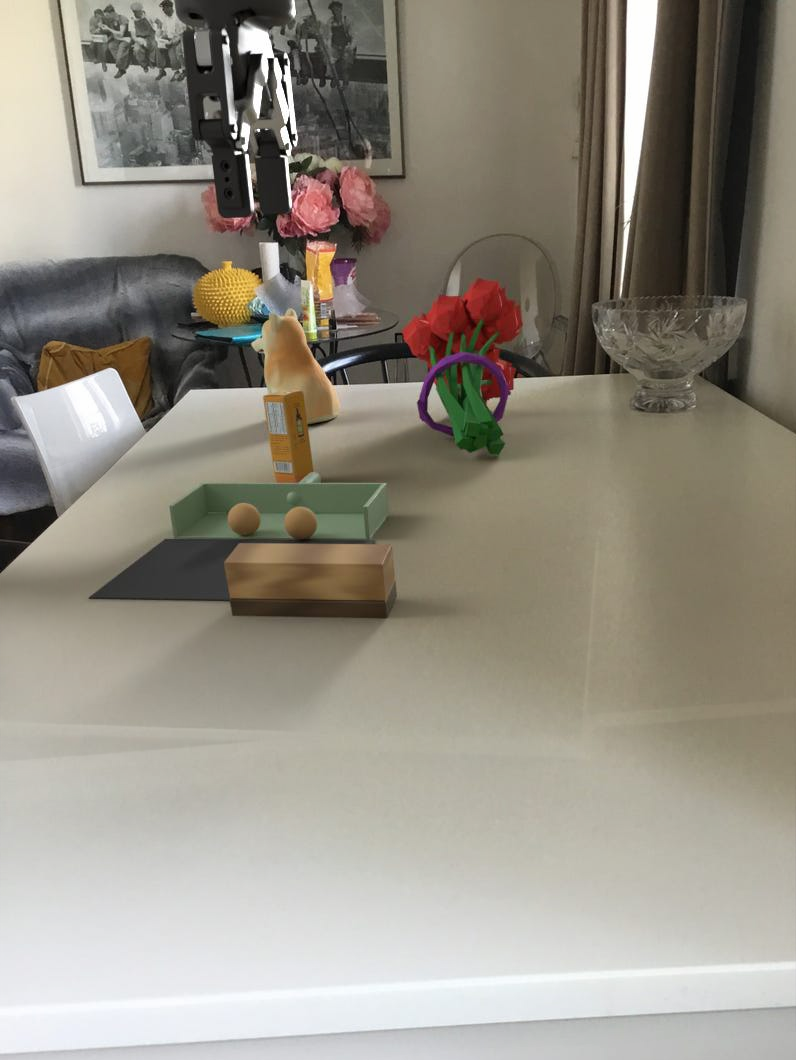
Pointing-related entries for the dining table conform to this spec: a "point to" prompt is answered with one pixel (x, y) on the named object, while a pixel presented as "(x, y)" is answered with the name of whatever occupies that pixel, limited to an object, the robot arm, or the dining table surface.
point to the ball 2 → (300, 523)
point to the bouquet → (467, 361)
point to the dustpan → (282, 509)
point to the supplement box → (288, 435)
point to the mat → (185, 570)
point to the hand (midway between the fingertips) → (257, 215)
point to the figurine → (295, 366)
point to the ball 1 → (244, 519)
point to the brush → (311, 580)
